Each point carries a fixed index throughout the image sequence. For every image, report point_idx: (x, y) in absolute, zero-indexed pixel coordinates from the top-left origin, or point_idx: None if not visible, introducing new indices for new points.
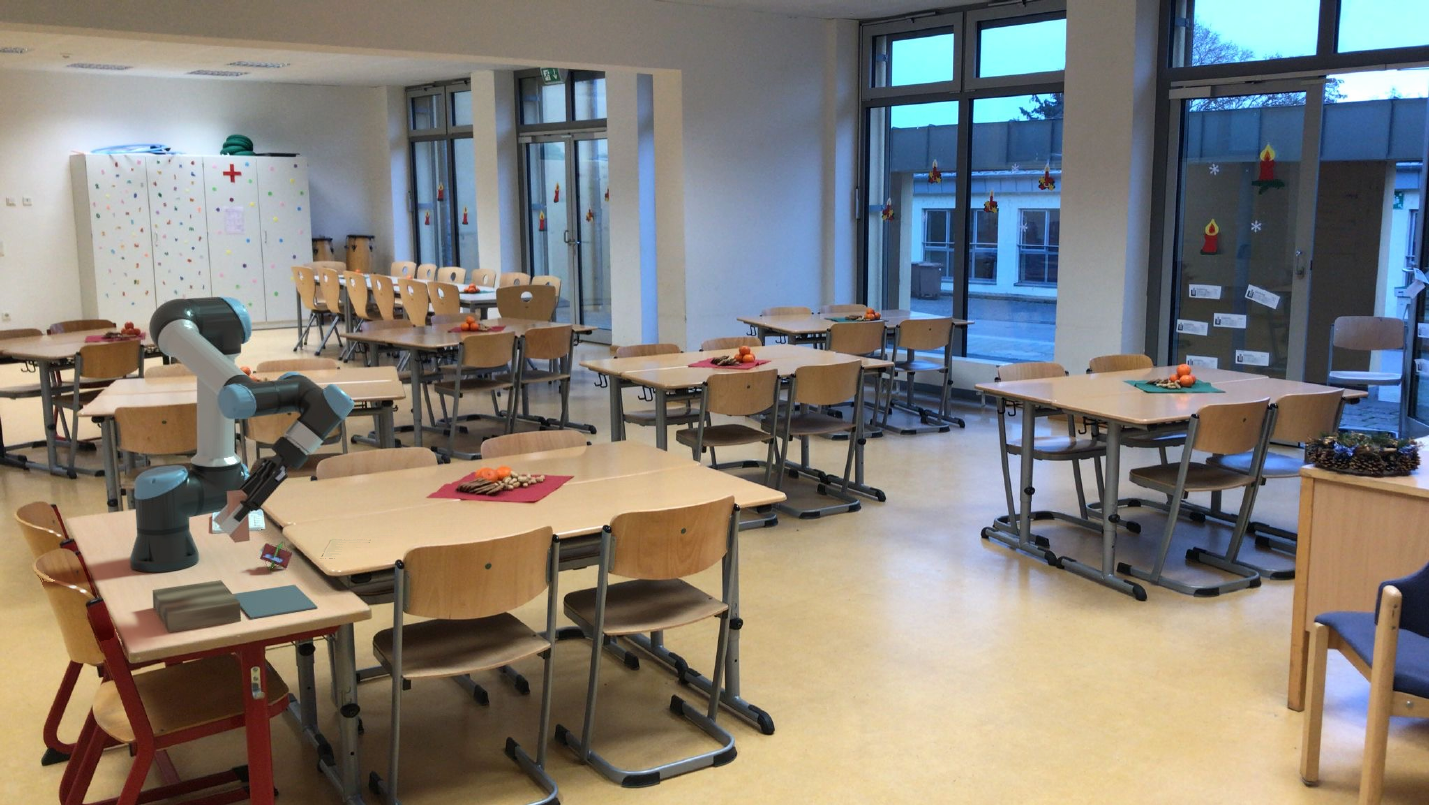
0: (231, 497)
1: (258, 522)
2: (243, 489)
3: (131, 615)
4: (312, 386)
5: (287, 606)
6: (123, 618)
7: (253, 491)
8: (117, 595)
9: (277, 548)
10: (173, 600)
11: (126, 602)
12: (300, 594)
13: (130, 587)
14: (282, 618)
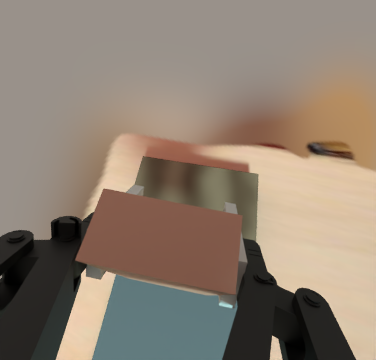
0: (129, 195)
1: None
2: (237, 309)
3: (236, 158)
4: None
5: (124, 342)
6: (230, 149)
7: (31, 290)
8: (325, 169)
9: None
10: (193, 178)
11: (290, 169)
12: None
13: (356, 191)
14: (87, 309)
